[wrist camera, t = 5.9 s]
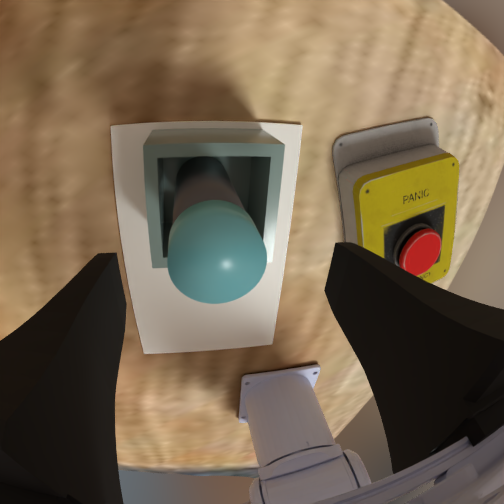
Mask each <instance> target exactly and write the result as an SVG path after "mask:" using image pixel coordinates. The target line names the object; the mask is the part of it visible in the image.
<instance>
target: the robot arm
mask: <svg viewBox="0 0 504 504" xmlns="http://www.w3.org/2000/svg"><path fill="white" fill-rule="evenodd" d="M324 291H325V293H326V296H327V299H328V302H329V304H330V307H331V309H332V312H333V314H334V316H335V318H336V320H337V321H338V323H339V325H340V327H341V329H342V330H343V332H344V334H345V336H346V338H347V339H348V341H349V343H350V345H351V346H352V348H353V350H354V352H355V354H356V355H357V357H358V359H359V361H360V363H361V365H362V367H363V369H364V371H365V373H366V376H367V379H368V381H369V384H370V386H371V389H372V391H373V394H374V397H375V400H376V403H377V406H378V409H379V412H380V415H381V419H382V422H383V426H384V430H385V434H386V437H387V442H388V447H389V452H390V457H391V463H392V470H393V473H394V474H393V475H391V476H389V477H386V478H384V479H382V480H379V481H377V482H374V483H371V481H370V478H369V476H368V473H367V471H366V469H365V466H364V464H363V462H362V460H361V459H360V457H359V456H358V454H357V453H355V452H353V451H351V450H349V449H347V450H344V451H342V450H341V447H340V445H339V444H335V442H334V439H333V436H332V434H331V431H330V429H329V427H328V424H327V422H326V419H325V417H324V414H323V412H322V409H321V407H320V405H319V402H318V400H317V397H316V395H315V392H314V390H313V388H314V385H315V383H316V380H317V377H318V375H319V372H320V369H321V368H320V366H319V365H311V366H305V367H299V368H292V369H286V370H279V371H272V372H265V373H257V374H249V375H244V376H243V377H242V381H241V394H240V406H239V422H240V423H246V422H248V425H249V429H250V433H251V437H252V441H253V445H254V449H255V453H256V457H257V461H258V463H259V465H260V467H261V468H260V469H258V472H259V476H260V477H259V478H255V479H254V480H253V482H252V484H251V485H250V489H249V492H250V500H251V504H386V503H389V502H391V501H393V500H395V499H398V498H400V497H402V496H404V495H406V494H407V493H410V492H412V491H414V490H416V489H418V488H420V487H422V486H423V485H425V484H427V483H429V482H431V481H433V480H434V479H436V480H435V482H434V486H433V487H431V488H430V489H428V490H426V491H425V492H423V493H421V494H419V495H418V496H416V497H415V498H413V499H412V500H410V501H408V502H407V503H405V504H504V310H503V309H499V308H495V307H491V306H488V305H485V304H481V303H478V302H475V301H472V300H469V299H467V298H464V297H461V296H459V295H456V294H454V293H451V292H449V291H447V290H444V289H442V288H440V287H437V286H435V285H433V284H431V283H429V282H427V281H425V280H423V279H421V278H419V277H417V276H415V275H413V274H411V273H410V272H408V271H406V270H404V269H402V268H400V267H399V266H397V265H395V264H393V263H391V262H390V261H388V260H386V259H384V258H382V257H381V256H379V255H377V254H375V253H373V252H371V251H369V250H367V249H366V248H364V247H361V246H359V245H357V244H355V243H352V242H340V243H335V247H334V252H333V256H332V261H331V265H330V269H329V274H328V278H327V282H326V286H325V290H324ZM125 321H126V300H125V295H124V290H123V285H122V280H121V275H120V270H119V264H118V259H117V253H98V254H97V255H96V256H95V257H94V258H93V259H92V260H91V261H90V262H88V263H87V264H86V265H85V266H84V267H83V268H82V270H81V271H80V272H79V273H78V274H77V275H76V276H75V277H74V278H73V279H72V280H71V281H70V282H69V283H68V284H67V285H66V286H65V287H64V288H63V289H62V290H60V291H59V292H58V293H57V294H56V295H55V296H54V297H53V298H52V299H51V300H50V301H49V302H48V303H47V304H46V305H45V306H44V307H43V308H41V309H40V310H39V311H38V312H37V313H36V314H35V315H33V316H32V317H31V318H30V319H29V320H27V321H26V322H25V323H24V324H22V325H21V326H20V327H19V328H17V329H16V330H15V331H13V332H12V333H11V334H9V335H8V336H6V337H5V338H4V339H2V340H1V341H0V504H123V499H122V493H121V487H120V481H119V472H118V463H117V453H116V437H115V392H116V383H117V376H118V370H119V363H120V357H121V351H122V345H123V339H124V333H125Z"/></svg>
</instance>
